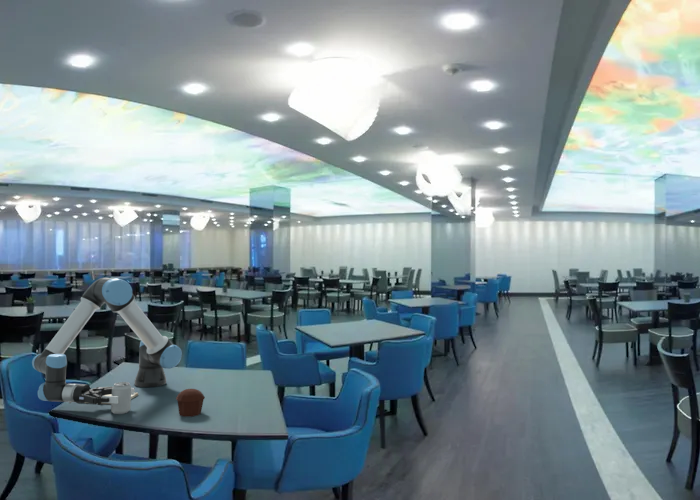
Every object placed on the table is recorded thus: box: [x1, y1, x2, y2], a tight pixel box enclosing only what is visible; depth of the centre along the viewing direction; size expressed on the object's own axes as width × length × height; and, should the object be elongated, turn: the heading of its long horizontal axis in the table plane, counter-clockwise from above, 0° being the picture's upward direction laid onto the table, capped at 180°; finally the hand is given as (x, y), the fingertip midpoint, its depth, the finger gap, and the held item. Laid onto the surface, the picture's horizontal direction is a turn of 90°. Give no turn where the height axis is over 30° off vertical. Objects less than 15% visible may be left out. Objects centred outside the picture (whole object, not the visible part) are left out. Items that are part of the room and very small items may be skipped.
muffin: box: [175, 388, 205, 418], centre depth 215 cm, size 12×11×10 cm
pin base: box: [84, 392, 139, 405], centre depth 233 cm, size 16×20×4 cm
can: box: [110, 381, 132, 415], centre depth 214 cm, size 8×8×12 cm
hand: (126, 395), depth 214 cm, fingers open, 13 cm apart
